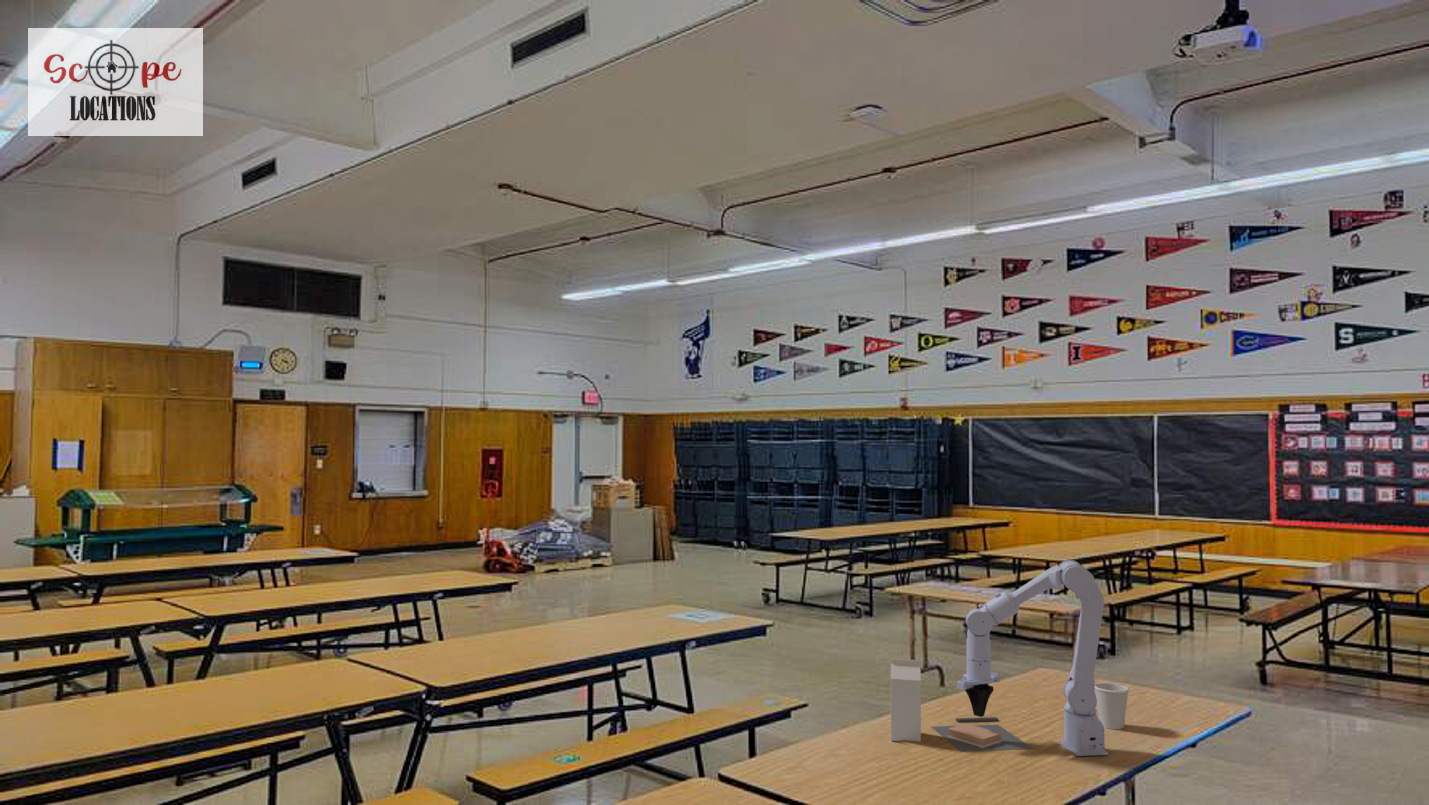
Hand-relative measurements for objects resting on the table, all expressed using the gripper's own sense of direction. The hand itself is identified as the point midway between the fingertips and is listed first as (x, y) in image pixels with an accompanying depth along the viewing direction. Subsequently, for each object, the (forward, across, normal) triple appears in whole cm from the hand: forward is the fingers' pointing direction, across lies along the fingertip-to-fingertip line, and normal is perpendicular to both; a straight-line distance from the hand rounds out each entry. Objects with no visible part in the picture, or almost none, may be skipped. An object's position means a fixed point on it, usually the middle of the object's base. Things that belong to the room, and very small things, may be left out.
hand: (978, 715), depth 220 cm
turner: (+6, -8, -11) cm, 15 cm away
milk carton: (+6, +13, -12) cm, 19 cm away
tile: (+4, -2, 0) cm, 5 cm away
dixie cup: (+6, -38, +13) cm, 41 cm away
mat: (+6, -1, 0) cm, 6 cm away
